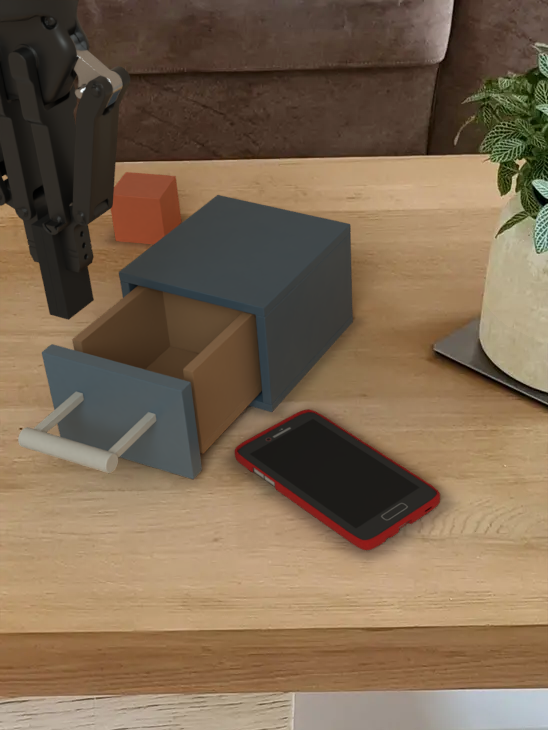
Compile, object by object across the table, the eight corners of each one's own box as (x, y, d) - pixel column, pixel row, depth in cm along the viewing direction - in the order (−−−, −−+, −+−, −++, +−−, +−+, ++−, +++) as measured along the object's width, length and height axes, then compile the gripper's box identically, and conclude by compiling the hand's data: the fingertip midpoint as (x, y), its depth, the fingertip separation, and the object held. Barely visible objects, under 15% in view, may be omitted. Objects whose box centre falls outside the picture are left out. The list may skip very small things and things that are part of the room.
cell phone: (366, 556, 79) (366, 546, 78) (229, 459, 86) (228, 448, 86) (445, 503, 83) (445, 493, 83) (308, 415, 91) (308, 405, 90)
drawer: (144, 533, 79) (128, 442, 74) (5, 489, 82) (-19, 399, 77) (283, 381, 93) (278, 296, 88) (161, 348, 96) (149, 265, 92)
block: (115, 242, 112) (107, 194, 109) (132, 218, 116) (125, 171, 113) (166, 246, 112) (159, 198, 109) (181, 222, 116) (176, 175, 113)
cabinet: (272, 413, 91) (263, 308, 85) (135, 375, 95) (118, 271, 89) (353, 322, 102) (350, 223, 96) (227, 291, 106) (217, 194, 100)
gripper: (141, -73, 63) (188, 302, 78) (-52, -103, 67) (27, 260, 81) (54, -37, 58) (122, 359, 72) (-151, -72, 61) (-47, 312, 76)
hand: (71, 307), depth 77 cm, fingers closed
